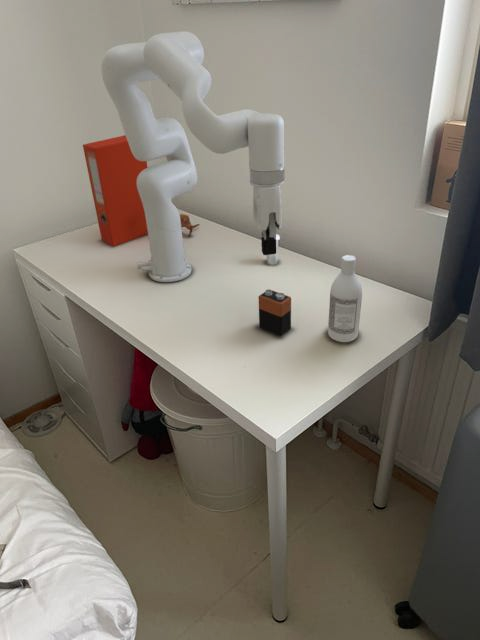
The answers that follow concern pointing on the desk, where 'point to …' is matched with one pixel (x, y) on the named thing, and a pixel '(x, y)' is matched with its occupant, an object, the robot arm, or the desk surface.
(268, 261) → the milkshake
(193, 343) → the desk surface
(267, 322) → the battery
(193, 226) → the cat figurine
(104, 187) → the file binder
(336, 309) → the bath foam
